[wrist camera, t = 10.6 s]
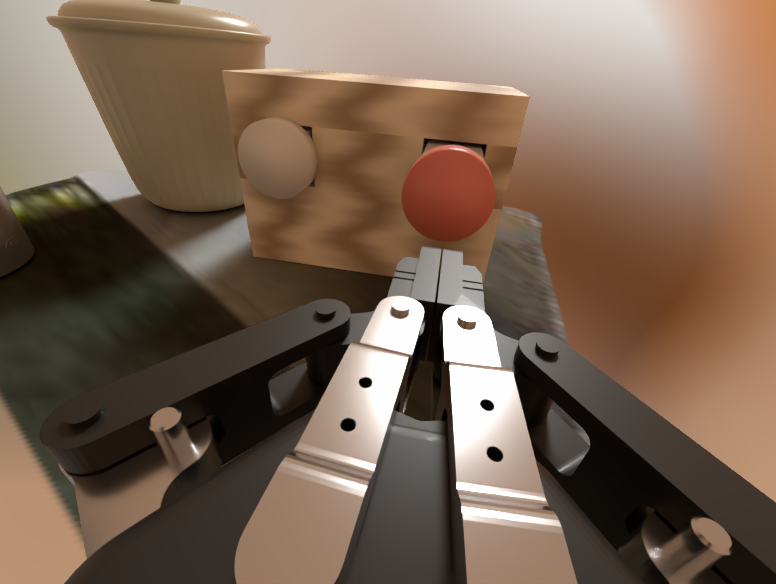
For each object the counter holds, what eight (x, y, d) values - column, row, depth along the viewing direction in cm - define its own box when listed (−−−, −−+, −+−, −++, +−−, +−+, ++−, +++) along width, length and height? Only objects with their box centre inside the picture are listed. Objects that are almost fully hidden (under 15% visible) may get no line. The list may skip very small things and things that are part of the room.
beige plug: (244, 194, 26) (231, 116, 23) (291, 165, 33) (286, 103, 30) (312, 203, 25) (307, 123, 22) (345, 172, 32) (345, 108, 29)
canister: (254, 235, 35) (206, -60, 23) (75, 220, 35) (-62, -79, 23) (302, 181, 50) (288, -14, 38) (176, 171, 50) (124, -26, 38)
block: (253, 256, 31) (221, 70, 23) (297, 215, 39) (284, 68, 32) (481, 289, 29) (529, 96, 21) (477, 239, 37) (511, 86, 29)
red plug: (398, 235, 22) (405, 145, 19) (414, 192, 29) (421, 122, 26) (483, 247, 21) (505, 156, 18) (478, 200, 28) (493, 129, 25)
